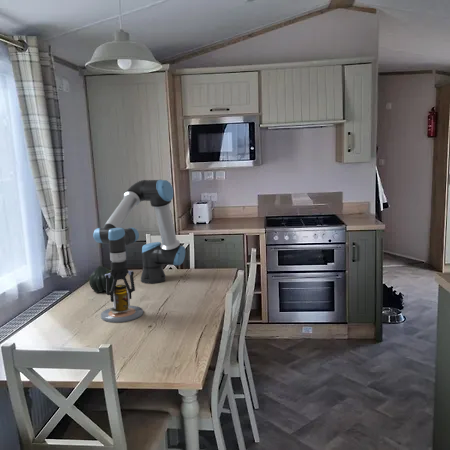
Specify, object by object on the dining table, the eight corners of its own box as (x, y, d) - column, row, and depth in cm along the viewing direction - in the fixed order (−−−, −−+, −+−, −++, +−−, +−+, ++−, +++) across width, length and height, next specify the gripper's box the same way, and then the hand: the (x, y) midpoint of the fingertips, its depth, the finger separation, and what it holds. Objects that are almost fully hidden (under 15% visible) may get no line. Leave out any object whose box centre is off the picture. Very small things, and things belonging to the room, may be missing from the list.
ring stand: (98, 311, 226) (98, 309, 226) (138, 305, 234) (138, 302, 233) (104, 325, 208) (103, 322, 208) (147, 318, 215) (146, 315, 215)
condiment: (131, 310, 219) (129, 286, 217) (113, 313, 215) (112, 289, 213) (125, 306, 225) (124, 282, 223) (109, 309, 221) (107, 285, 219)
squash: (111, 286, 250) (113, 262, 258) (84, 287, 250) (87, 263, 258) (117, 296, 262) (120, 273, 270) (92, 298, 262) (95, 274, 270)
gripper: (99, 264, 209) (102, 312, 213) (139, 259, 216) (142, 305, 220) (97, 261, 216) (100, 307, 220) (136, 256, 223) (139, 301, 227)
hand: (121, 306), depth 220 cm, fingers closed on condiment, 6 cm apart
